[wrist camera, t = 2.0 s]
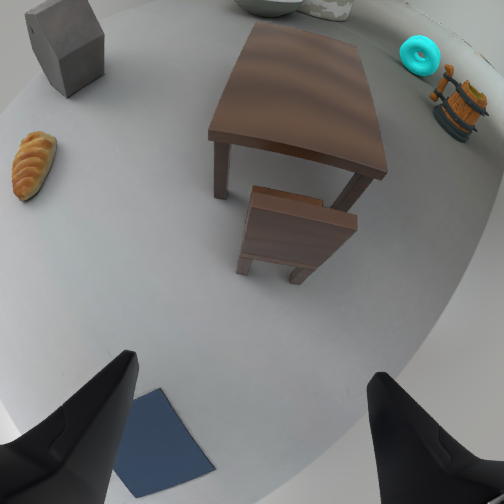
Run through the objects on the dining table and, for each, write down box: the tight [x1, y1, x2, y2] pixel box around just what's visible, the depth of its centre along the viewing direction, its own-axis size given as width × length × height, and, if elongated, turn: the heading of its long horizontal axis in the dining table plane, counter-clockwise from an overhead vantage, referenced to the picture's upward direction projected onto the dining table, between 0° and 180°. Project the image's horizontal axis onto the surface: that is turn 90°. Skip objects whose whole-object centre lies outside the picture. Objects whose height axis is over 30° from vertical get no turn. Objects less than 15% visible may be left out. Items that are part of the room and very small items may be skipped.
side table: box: [208, 22, 388, 213], centre depth 28 cm, size 24×14×10 cm, turn 171°
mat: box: [113, 388, 215, 498], centre depth 18 cm, size 9×9×1 cm
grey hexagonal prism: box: [25, 0, 104, 98], centre depth 26 cm, size 17×8×21 cm
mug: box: [430, 65, 489, 143], centre depth 36 cm, size 13×10×12 cm
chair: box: [236, 185, 357, 285], centre depth 21 cm, size 6×6×12 cm
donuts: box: [400, 35, 441, 76], centre depth 44 cm, size 10×10×10 cm
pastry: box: [12, 131, 57, 201], centre depth 25 cm, size 9×7×4 cm
